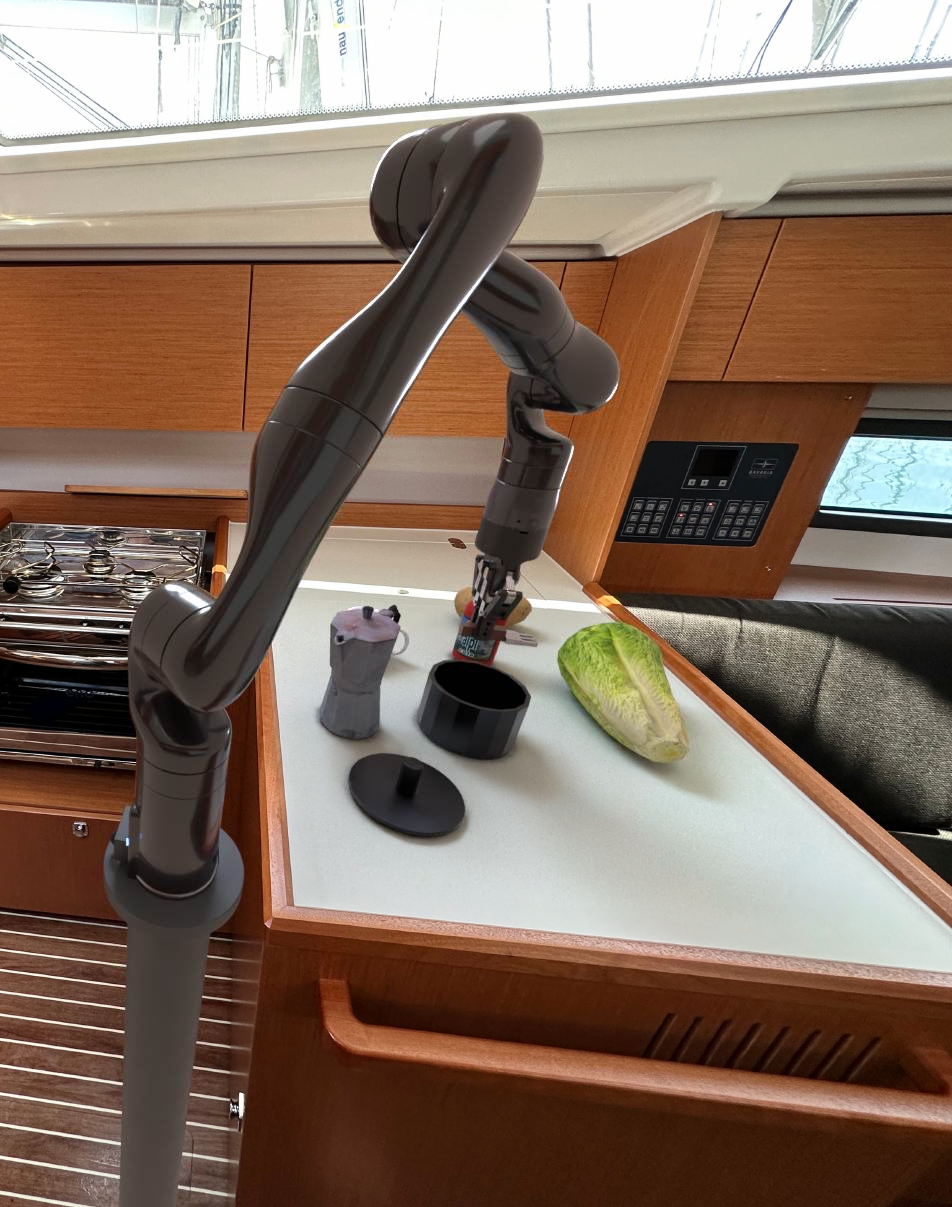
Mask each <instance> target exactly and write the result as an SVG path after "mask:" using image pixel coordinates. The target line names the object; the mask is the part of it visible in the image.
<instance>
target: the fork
mask: <svg viewBox="0 0 952 1207" xmlns="http://www.w3.org/2000/svg"><path fill="white" fill-rule="evenodd" d="M474 626H475V623H473V622H465V621H462V620H461V621H460V624H459V626H458V627H459V628H458V631H459V633H460V635H461V636H465V637H472V633H473V630H474ZM458 631H457V632H458ZM472 638H473V637H472ZM490 640H496V641H500V642H503V643H504V644H505V645H512V646H523V647H531V648H538V644H539V643H538V641H536V638H534V635H533V634H529V633H520V632H517V630H512V629H511V630H510V629H506V628H504V626H498V625H495V627H494V630H493V633H492V636H491V639H490Z"/></svg>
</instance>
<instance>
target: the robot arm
mask: <svg viewBox="0 0 952 1207" xmlns="http://www.w3.org/2000/svg"><path fill="white" fill-rule="evenodd" d="M544 159H545V141H544V136H543V132H542V130H541V128H540V126H539V125H538V123H537V122H536V121H535V120H534V119H532V118H531V117H530V116H529V115H527V114H523V113H520V112H497V113H495V112H494V113H488V114H481V115H477V116H474V117H470V118H464V119H459V120H455V121H450V122H445V123H441V124H435V125H432V126H428V127H427V126H426V127H423V128H421V129H418V130H416V131H413V132H411V133H408V134H405V135H403V136H402V137H400V138H399V139H398V140H397V141H395V142H394V143H392V144H391V145H390V146H389V148H388V149H387V150H386V151H385V153H384V154H383V156H382V157H381V160H380V161H379V162H378V165H377V167H376V168H375V171H374V174H373V178H372V181H371V185H370V191H369V197H368V198H369V200H368V203H369V204H368V205H369V217H370V224H371V226H372V227H371V228H372V230H373V232H374V234H375V236H376V238H377V241H378V242H379V243H380V244H381V246H382V247H383V248H384V249H385V251H387V252H388V253H389V254H390V255H391V256H392V257H393V258H394V259H396V260H397V261H399V263H401V264H402V265H403V266H402V267H401V268H400V269H399V271H398V272H397V274H396V275H395V276H394V278H393V279H392V280H391V281H390V282H389V283H388V284H387V286H385V288H384V289H383V290H382V291H381V292H380V293H378V295H377V296H376V297H375V298H373V299H372V300H371V301H370V302H369V303H368V304H366V305H365V306H364V307H363V308H361V310H360V311H358V312H357V313H356V314H355V315H354V316H352V317H351V318H350V319H349V320H347V321H346V322H345V323H344V324H342V326H340V327H339V328H337V330H335V331H334V332H333V333H332V334H330V335H329V336H328V337H327V338H326V339H324V341H322V342H321V343H320V344H318V345H317V347H316V348H314V349H313V350H312V352H310V354H308V355H307V356H306V357H305V358H304V359H303V360H302V362H301V363H300V364H299V365H298V366H297V367H296V369H295V370H294V371H293V373H292V374H291V376H290V377H289V378H288V380H287V382H286V383H285V385H284V387H283V388H282V390H281V392H280V394H279V396H278V397H277V400H276V401H275V403H274V405H273V406H272V409H270V412H269V414H268V416H267V417H266V419H265V421H264V423H263V424H262V427H260V430H259V432H258V435H257V437H256V439H255V442H254V443H253V444H254V445H253V448H252V452H251V457H250V463H249V464H250V465H249V474H248V489H247V490H248V491H247V516H246V527H245V531H244V532H245V534H244V537H243V542H242V545H241V548H240V551H239V554H238V556H237V558H236V561H235V564H234V566H233V567H232V570H231V572H230V574H229V576H228V578H227V580H226V582H225V583H224V586H223V587H222V588H221V591H220V592H219V594H218V596H215V595H213V594H212V593H211V592H209V591H207V590H206V589H204V588H202V587H201V586H199V585H198V584H196V583H193V582H190V581H185V580H172V581H168V582H165V583H162V584H160V585H159V586H157V587H155V588H154V589H152V590H151V591H150V592H149V593H148V594H147V595H146V596H144V598H143V600H141V602H140V604H139V605H138V607H137V609H136V610H135V612H134V615H133V617H132V620H131V623H130V628H129V632H128V638H127V685H128V686H127V687H128V688H127V689H128V708H129V714H130V717H131V718H130V719H131V720H132V724H133V726H134V729H135V732H136V735H135V736H136V741H135V742H136V746H135V747H136V748H135V774H134V777H135V778H134V797H133V800H132V802H131V806H130V805H125V807H124V809H123V812H122V815H121V818H120V821H119V823H118V827H117V829H115V830H114V831H113V832H112V831H111V833H110V834H109V842H110V841H111V843H112V844H113V845H114V860H119V861H124V862H128V864H127V877H128V878H131V879H135V880H137V881H138V883H139V884H140V885H141V886H142V887H143V888H144V889H145V890H146V891H148V892H149V893H151V894H153V895H155V896H157V897H159V898H162V899H166V900H174V901H179V900H187V899H191V898H194V897H196V896H198V895H200V894H201V893H203V892H204V891H205V890H206V889H207V888H208V887H209V886H210V885H211V883H212V882H213V880H214V877H215V874H216V867H217V852H218V867H219V836H220V828H221V829H222V819H223V811H224V803H225V795H226V794H225V793H226V786H227V779H228V778H227V777H228V776H227V775H228V769H229V760H230V754H231V753H230V752H231V746H232V736H233V728H232V721H231V718H230V716H229V713H228V711H227V710H226V708H227V707H229V706H230V705H232V704H233V703H234V702H235V701H236V700H237V699H238V698H239V697H240V696H241V695H242V694H243V693H244V692H245V691H246V690H247V688H248V687H249V685H250V684H251V682H252V681H253V679H254V678H255V676H256V675H257V673H258V672H259V669H260V668H261V666H262V665H263V663H264V660H265V658H266V656H267V654H268V652H269V650H270V649H271V646H272V644H273V642H274V640H275V638H276V635H277V633H278V631H279V628H280V627H281V624H282V622H283V621H284V618H285V616H286V614H287V612H288V610H289V607H290V605H291V603H292V601H293V598H294V596H295V594H296V592H297V591H298V588H299V586H300V583H301V582H302V580H303V577H304V575H305V574H306V573H307V572H306V571H307V570H308V568H309V566H310V565H311V562H312V561H313V559H314V557H315V556H316V554H317V552H318V550H319V548H320V546H321V544H322V542H323V540H324V539H325V537H326V536H327V533H328V531H329V530H330V528H331V526H332V524H333V522H334V521H335V519H336V517H337V516H338V514H339V512H340V510H341V509H342V507H343V505H344V504H345V502H346V500H347V499H348V497H349V496H350V494H351V493H352V491H353V489H354V488H355V486H356V485H357V484H358V482H359V480H360V478H361V477H362V475H363V473H364V472H365V470H366V469H367V467H368V465H369V464H370V462H371V459H372V458H373V457H374V455H375V453H376V452H377V450H378V448H379V446H380V445H381V443H382V442H383V439H384V438H385V436H386V435H387V433H388V430H389V429H390V427H391V424H392V423H393V422H394V419H395V417H396V415H397V413H398V411H399V410H400V408H401V406H402V404H403V403H404V401H405V400H406V398H407V397H408V394H409V393H410V391H411V389H412V388H413V386H414V384H415V383H416V382H417V380H418V378H419V376H420V375H421V373H422V372H423V370H424V368H425V367H426V365H427V364H428V362H429V360H430V359H431V357H432V356H433V354H434V352H435V351H436V349H437V347H438V345H439V344H440V343H441V341H442V339H443V338H444V337H445V335H446V333H447V332H448V331H449V329H450V328H451V327H452V325H453V324H454V322H455V320H456V319H457V318H458V316H459V315H460V313H461V314H462V315H464V316H465V317H466V319H468V321H470V323H471V324H473V325H474V327H475V328H476V329H477V330H478V332H480V334H481V335H482V336H483V338H484V340H486V342H487V343H488V344H489V346H490V347H491V348H492V350H493V352H494V353H495V354H496V355H497V357H498V359H499V360H500V361H501V362H502V364H503V365H504V366H505V367H506V368H507V369H508V370H509V373H508V377H507V382H506V392H505V401H506V403H505V404H506V422H505V423H506V425H505V445H504V450H503V454H502V456H501V460H500V463H499V466H498V469H497V473H496V477H495V479H494V482H493V484H492V485H491V488H490V491H489V492H488V496H487V499H486V503H485V507H484V509H483V513H482V516H481V519H480V523H479V526H478V530H477V532H476V536H475V538H474V546H475V548H476V549H477V550H478V551H479V552H480V553H483V554H476V556H475V558H474V560H475V561H474V570H473V578H472V586H471V587H472V592H471V593H472V596H474V597H475V598H474V601H473V604H474V606H476V607H474V610H473V613H472V617H471V620H470V622H473V623H475V626H474V630H473V633H472V637H473V639H474V640H478V641H489V640H490V639H491V636H492V633H493V630H494V627H495V624H496V621H497V620H502V621H505V620H506V619H507V618H508V616H509V615H510V614H511V613H512V611H513V610H514V609H515V608H516V606H517V605H518V604H519V602H520V601H521V600H522V598H523V597H524V593H523V591H520V590H516V586H517V585H518V584H519V582H520V579H521V576H522V575H521V574H522V573H521V568H522V567H521V566H522V564H525V563H526V562H527V563H528V562H532V561H535V560H536V559H538V558H539V557H540V555H541V552H542V550H543V546H544V544H545V541H546V539H547V536H548V532H549V530H550V526H551V524H552V521H553V518H554V515H555V513H556V510H557V507H558V504H559V496H560V492H561V487H562V485H563V483H564V480H565V478H566V474H567V471H568V468H569V465H570V462H571V459H572V457H573V453H574V448H575V444H574V441H573V439H571V438H570V437H569V436H567V435H565V434H563V433H561V432H559V431H556V430H555V429H553V428H551V427H550V426H549V425H548V424H547V421H546V416H545V411H546V412H548V411H549V412H553V413H560V414H565V415H572V416H582V415H587V414H590V413H593V412H596V411H598V410H599V409H601V408H602V407H604V406H605V405H606V404H607V403H608V402H609V400H611V399H612V397H613V396H614V394H615V393H616V391H617V388H618V386H619V383H620V378H621V365H620V361H619V358H618V356H617V354H616V352H615V351H614V348H612V346H611V345H610V344H608V343H607V342H606V341H605V340H604V339H603V338H601V337H600V336H599V335H598V334H596V333H595V332H594V331H592V330H591V329H590V328H588V326H585V325H584V324H582V323H580V322H579V321H577V320H576V319H575V316H574V314H573V313H572V311H571V308H570V307H569V305H568V302H567V301H566V299H565V297H564V295H563V294H562V292H561V291H560V289H559V288H558V286H557V285H556V284H555V283H554V281H552V280H551V278H550V277H548V276H547V275H546V274H545V273H544V272H542V271H540V270H539V269H538V268H537V267H535V266H534V265H532V264H530V263H529V262H528V261H527V260H524V259H522V258H521V257H519V256H518V255H516V254H514V253H512V252H511V251H509V250H507V247H508V246H509V244H510V243H511V241H512V240H513V238H514V237H515V235H516V234H517V232H518V230H519V228H520V226H521V225H522V223H523V221H524V219H525V217H526V216H527V213H528V212H529V210H530V207H531V205H532V203H533V200H534V197H535V195H536V192H537V188H538V185H539V182H540V179H541V176H542V172H543V165H544Z"/></svg>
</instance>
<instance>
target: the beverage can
mask: <svg viewBox="0 0 952 1207" xmlns="http://www.w3.org/2000/svg"><path fill="white" fill-rule="evenodd" d="M474 598H475V597H474ZM474 598H473V600H471V601H470V602H469V603H468V604H467V605H466V608H465V612H464V615H463V618H461V621H465V622H470V620H471V617H472V613H473V610H474V607H476V606H474V604H473V601H474ZM508 618H509V616H508ZM508 618H507V619H506V620H505V621H502V620H497V621H496V624H495V625H498V626H504V628H505V627H506V624H507V621H508ZM505 629H506V628H505ZM453 644H454V645H453V648H452V656H453V658H455V660H457V659H461V660H468V661H475V662H479V663H483V664H486V665H489V666H492V665H493V663H494V661H495V658H496V655H497V653H498V650H499V646H500V645H501V641H496V640H489V641H478V640H474V639H473V638H472V637H465V636H461V635H460V633H459V631H457V634H456V638H455V641H454V643H453Z"/></svg>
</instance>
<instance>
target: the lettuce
mask: <svg viewBox="0 0 952 1207" xmlns="http://www.w3.org/2000/svg"><path fill="white" fill-rule="evenodd" d="M556 661H557V665H558V669H559V673H560V676H561V677H562V679H563V680H564V681H565V683H566V685H567V686H568V688H569V690H570V691H571V693H572V694H573V696H575V698H576V699H577V700H578V701H579V702H580V704H581V705H582V706H583V708H584V709H585V710H586V712H588V714H589V715H590V716H591V717H592V718H593V720H595V721H596V722H597V723H598V724H599V726H601V728H603V730H605V732H606V733H607V734H608V735H609V736H611V737H612V738H613V739H615V740H616V741H617V742H619V743H620V744H622V745H623V746H625V747H626V748H627V749H629V750H631V751H632V752H634V753H636V754H637V755H639V756H641V757H643V758H645V759H647V760H650V761H652V762H653V763H654V762H655V763H664V764H670V763H675V762H677V761H680V760H683V759H685V756H686V755H687V753H688V752H689V750H690V745H691V740H690V735H689V732H688V728H687V725H686V721H685V719H684V716H683V713H682V711H681V709H680V706H679V704H678V702H677V700H676V699H675V697H674V693H673V691H672V688H671V684H670V682H669V679H668V677H667V674H666V671H665V666H664V655H663V653H662V651H661V649H660V647H659V645H658V643H656V642H655V641H654V640H653V639H652V638H651V637H650V636H648V634H646V633H644V632H643V631H642V630H640V629H639V628H637V626H636V627H635V626H633V625H631V624H629V623H626V622H624V621H613V622H612V621H611V622H601V623H596V624H594V625H593V624H592V625H590V626H585V627H582V628H581V629H579V630H578V631H576V632H574V634H572V635H570V636H569V637H568V638H567V639H566V640H565V641H564V642H563V644H562V645H561V646H560V648H559V649H558V651H557V658H556Z"/></svg>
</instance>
